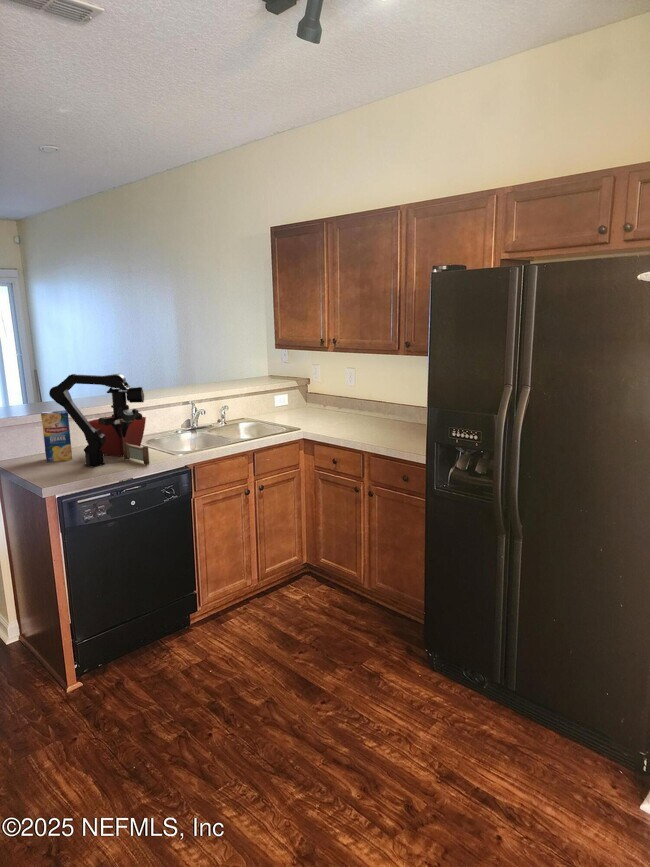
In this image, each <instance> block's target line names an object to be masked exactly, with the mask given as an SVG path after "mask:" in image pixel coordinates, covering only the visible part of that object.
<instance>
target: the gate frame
mask: <svg viewBox="0 0 650 867" xmlns="http://www.w3.org/2000/svg"><path fill="white" fill-rule="evenodd" d="M127 444H128V443H123V450H124V456H123V459H128V460H130V459H131V458H127V450H126V445H127ZM142 447H143V460H144V461H143V465H144V464H145V465H146V466H147V464H148V465H150V454H149V453H150V452H149V446H148V445H143V446H142Z"/></svg>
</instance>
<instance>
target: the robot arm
mask: <svg viewBox="0 0 650 867" xmlns="http://www.w3.org/2000/svg"><path fill="white" fill-rule="evenodd" d="M74 385H97V386H105V387H109V389H108V390H107V391H106V393H107V394H111V400H112V405H111V406H110V408H111V409H112V410H113V414H111V416H112V417H114V418H111V417H109V416H102V417H98V419H99V420H98V424H100V425H112V427H113V428H114V429H115V431H116V433H117V435H118V436H119V438H121V437H122V435H123V437H124V438H125V437H126V433H127V430H128V427H129V425H130V424H131V423H133V421H134V420H135V419H136V420H141V419H143V417H144V416H143V414H142V413H141V412H140V411H139V409H138V408H133V409H130V406H129V404H127V401H128V402H129V403H130V404H131V403H135V404H136V403H144V402H145V392H144V389H143V386H138V387H137V386H136V387H134V386H133V387H132V386H131V385H130V384H129V383H128V382H127V380H126V377H125V375H124V374H122V373H115V374H114V373H113V374H107V375H106V374H105V375H90V374H89V375H88V374H76V373H71V374H69V375H68V376H66V378H65V379H63V381H61V382H60V383H59V384H57V385H55V386H52V387H51V388H50V389H49V392H48V393H49V397H50V398H51V399H52V400H53V401H54V402H56V404H58V405H59V406H61V407H63V408H64V411H67V412H68V416H70V417H71V419H72V420H73V422H75V424H76V425H77V427H78V428H79V429H80V431H81V432H82V433H83V435H84V437H85V441H86V443H87V446H85V447H84V449H83V452H84V456H85V463H84V464H83V465H84V466H86V467H90V468H95V467H101V466H103V465H106V463H105V462H104V460H105V459H104V455H103V454H102V451H101V450H100V449H101V448H102V446H103V445H104V444H105V442H106V439H105V437H104V436H105V435H104V434H103V433H102V432H101V430H100V429H98V430H96V429H94V428H93V427H92V426H91V424H90V423H89V422H88V421H89V420H87V418H86V417H85V416H84V414H83V412H81V410H80V409H79V408H78V407H77V405H76V404H75V403H74V401H73V399H72V396H71V395H72V394H71V393H70V392H69V391H70V390H71V389H72V388H73V387H74ZM121 429H122V434H121Z"/></svg>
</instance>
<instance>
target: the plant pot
mask: <svg viewBox="0 0 650 867" xmlns="http://www.w3.org/2000/svg"><path fill="white" fill-rule="evenodd" d="M108 417H111V418H114V417H112V415H110V416H108ZM142 417H143V419H141V420H136V419H135V420H134V421H133V423H131V424H130V425H129V427H128V430H127V433H126V437H125V438H124V437H123V435H122V437H121V438H119V436H118V435H117V433H116V431H115V429H114V428H113V427H112V425H100V424H98V420H99V418H96V419H91V420H87V421H88V422H89V423H90V424H91V426H92V427H93V428H94V429H96V430H98V429H100V430H101V432H102V433H103V434H104V435H105V436H104V437H105V439H106V442H105V444H104V445H103V446H102V448H101V449H100V450H101V451H102V454H103V456H111V457H112V456H113V457H124V450H123V443H128V444H132V445H136V446H141V445H142V441H143V438H144V433H145V427H146V421H147V418H146V416H142ZM121 434H122V429H121Z"/></svg>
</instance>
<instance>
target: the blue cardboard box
mask: <svg viewBox="0 0 650 867" xmlns="http://www.w3.org/2000/svg"><path fill="white" fill-rule="evenodd" d="M40 417H41V424H42V432H43V433H42V434H43V443H44V452H45V459H46V460H45V462H46V463H52V461H55V462H60V461H59V460H64V461H70V460H69V459H72V460H73V452H72V451H73V450H72V443H71V441H72V440H71V433H70V432H71V430H70V420H69V414H68V412H67V411H66V410H56V411H42V412H40Z"/></svg>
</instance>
